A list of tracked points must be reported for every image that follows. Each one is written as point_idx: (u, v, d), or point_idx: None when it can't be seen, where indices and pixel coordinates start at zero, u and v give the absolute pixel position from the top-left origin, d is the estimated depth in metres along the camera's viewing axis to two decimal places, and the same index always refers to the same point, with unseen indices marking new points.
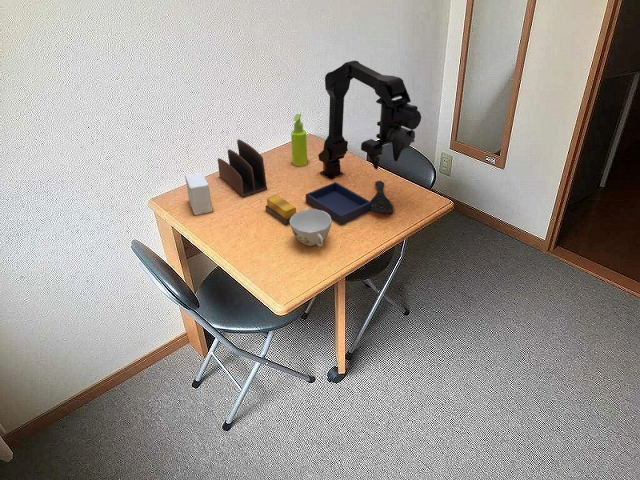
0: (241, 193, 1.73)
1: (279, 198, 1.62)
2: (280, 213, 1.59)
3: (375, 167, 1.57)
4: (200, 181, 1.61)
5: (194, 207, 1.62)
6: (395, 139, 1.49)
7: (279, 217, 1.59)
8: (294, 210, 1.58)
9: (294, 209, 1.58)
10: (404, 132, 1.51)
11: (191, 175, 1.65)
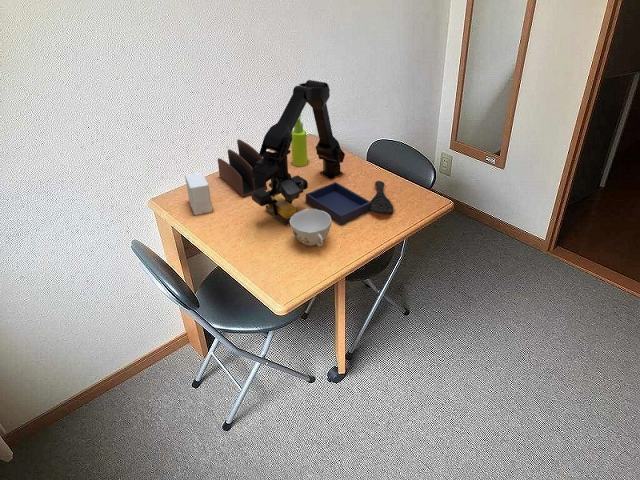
0: (241, 193, 1.73)
1: (279, 198, 1.62)
2: (280, 213, 1.59)
3: (274, 213, 1.60)
4: (200, 181, 1.61)
5: (194, 207, 1.62)
6: (283, 190, 1.51)
7: (279, 217, 1.59)
8: (294, 210, 1.58)
9: (294, 209, 1.58)
10: (293, 183, 1.53)
11: (191, 175, 1.65)
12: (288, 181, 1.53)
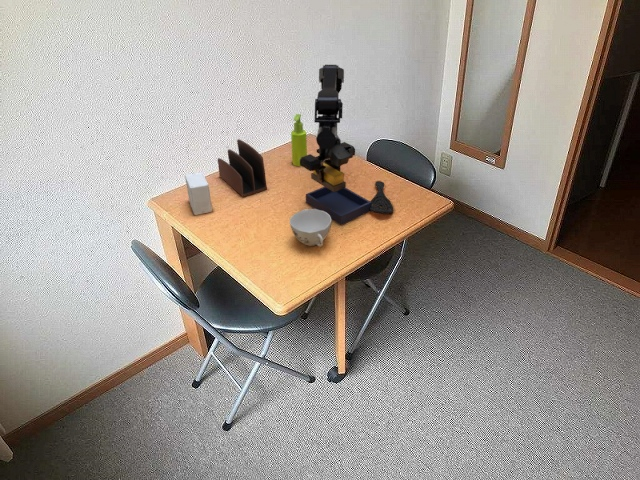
0: (241, 193, 1.73)
1: (325, 165, 1.60)
2: (327, 180, 1.57)
3: (321, 180, 1.58)
4: (200, 181, 1.61)
5: (194, 207, 1.62)
6: (332, 155, 1.49)
7: (326, 184, 1.57)
8: (342, 176, 1.56)
9: (342, 175, 1.55)
10: (342, 148, 1.50)
11: (191, 175, 1.65)
12: (337, 146, 1.50)
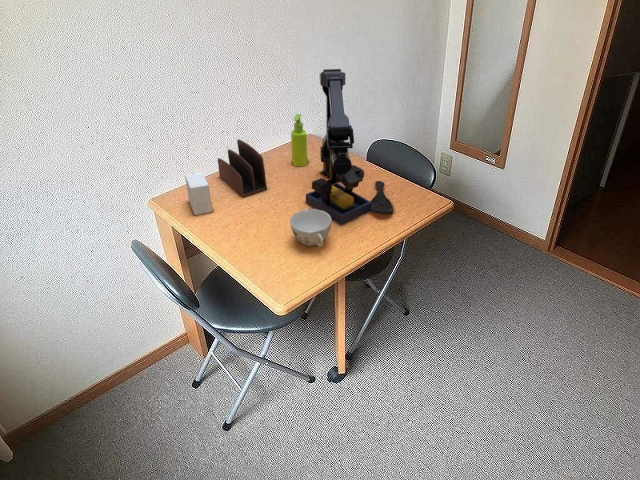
0: (241, 193, 1.73)
1: (336, 188, 1.66)
2: (338, 203, 1.63)
3: (327, 204, 1.63)
4: (200, 181, 1.61)
5: (194, 207, 1.62)
6: (343, 179, 1.55)
7: (337, 207, 1.63)
8: (352, 200, 1.62)
9: (352, 199, 1.61)
10: (353, 172, 1.56)
11: (191, 175, 1.65)
12: None
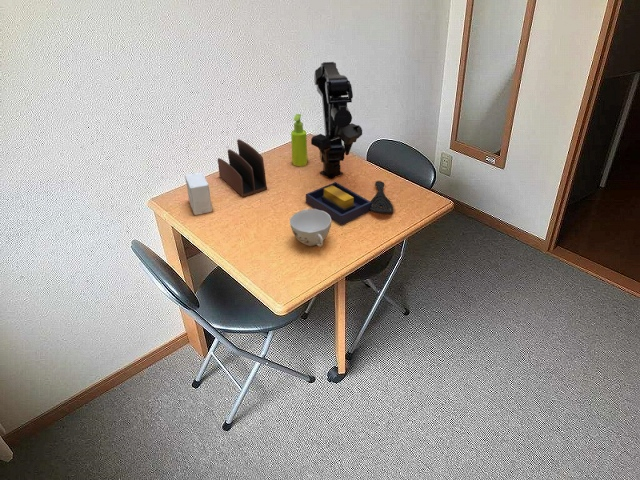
0: (241, 193, 1.73)
1: (336, 188, 1.66)
2: (338, 203, 1.63)
3: (326, 160, 1.67)
4: (200, 181, 1.61)
5: (194, 207, 1.62)
6: (342, 134, 1.59)
7: (337, 207, 1.63)
8: (352, 200, 1.62)
9: (352, 199, 1.61)
10: (351, 127, 1.61)
11: (191, 175, 1.65)
12: (346, 126, 1.61)
